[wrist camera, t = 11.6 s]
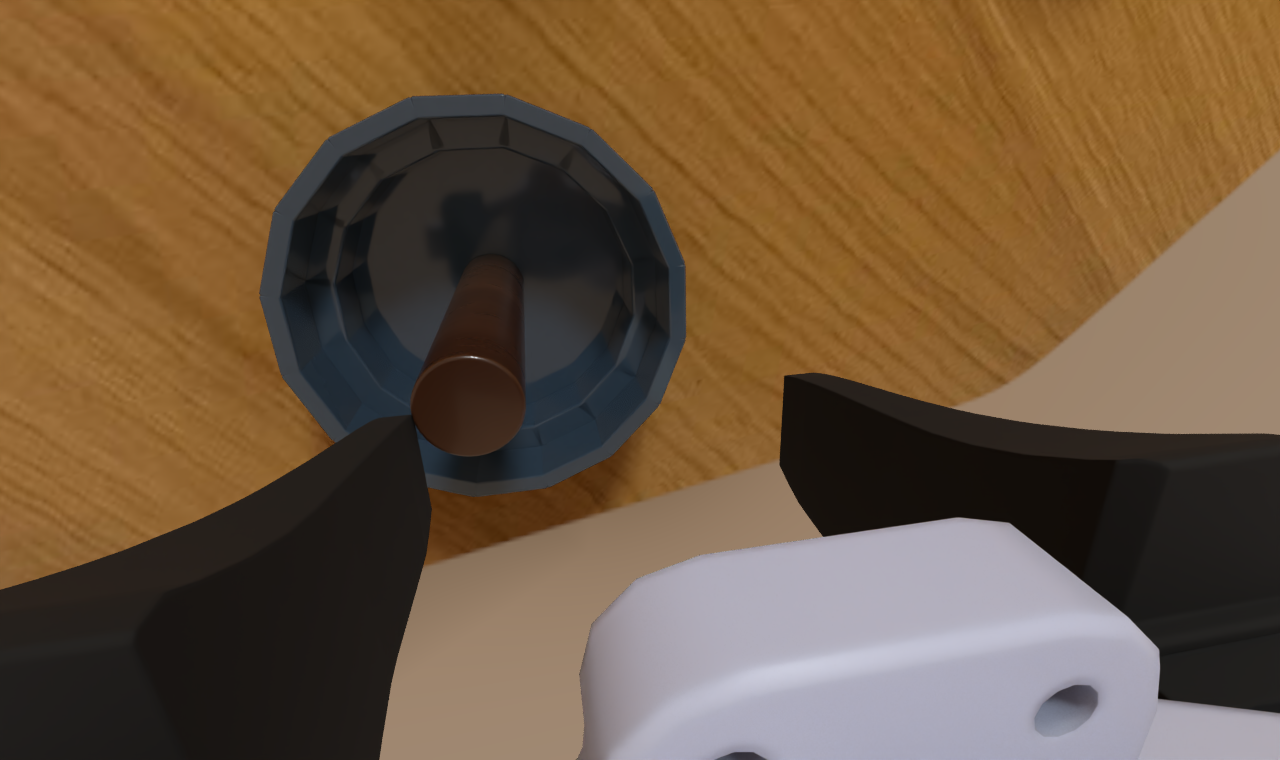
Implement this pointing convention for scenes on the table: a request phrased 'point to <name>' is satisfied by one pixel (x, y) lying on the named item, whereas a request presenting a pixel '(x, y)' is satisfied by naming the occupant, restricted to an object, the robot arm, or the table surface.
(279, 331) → the mixing bowl
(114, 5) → the table surface
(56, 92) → the table surface
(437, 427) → the stirring stick
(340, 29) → the table surface
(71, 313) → the table surface
